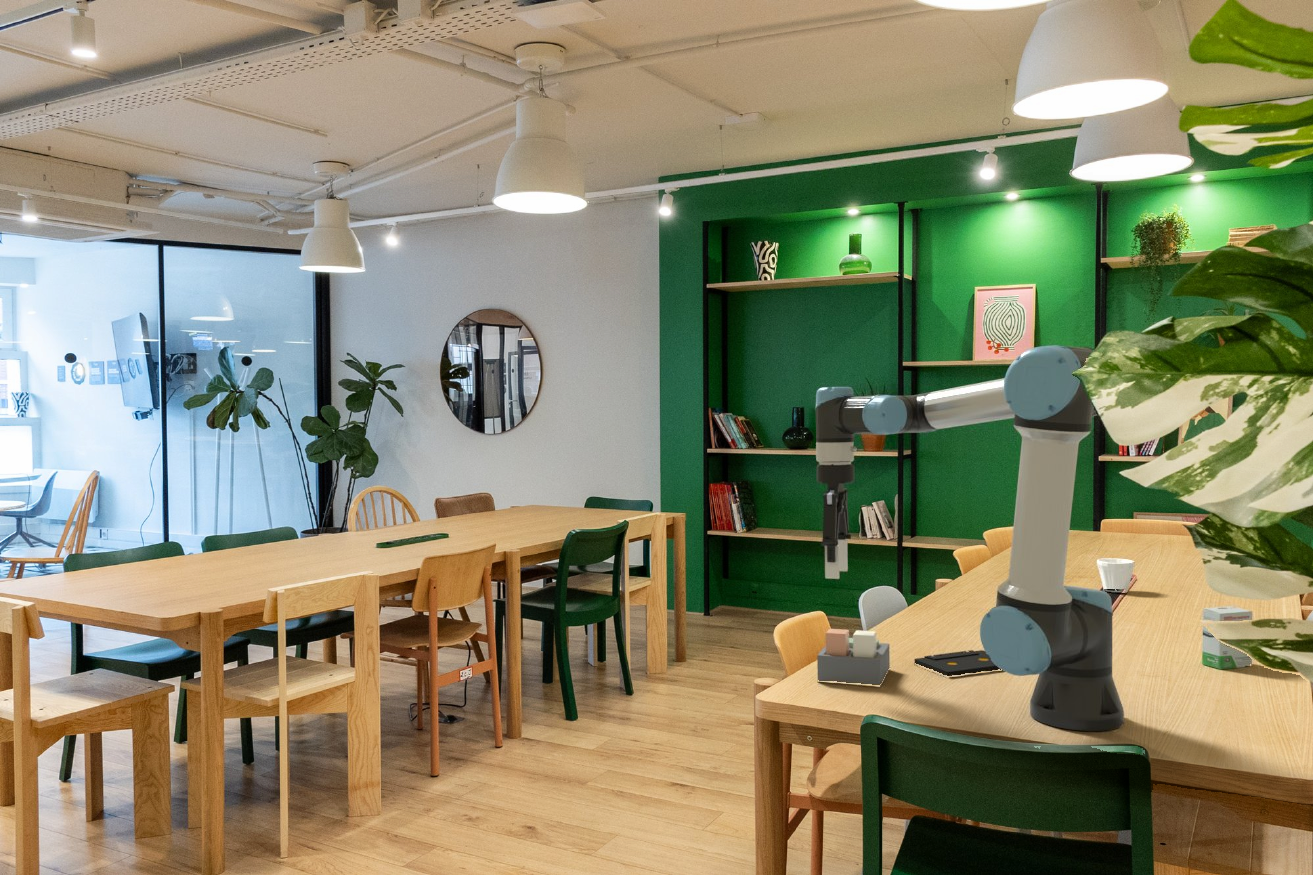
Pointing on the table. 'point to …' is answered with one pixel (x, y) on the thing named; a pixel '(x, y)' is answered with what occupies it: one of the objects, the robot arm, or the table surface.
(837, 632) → the pink block
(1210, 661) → the ink box
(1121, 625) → the table surface
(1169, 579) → the table surface
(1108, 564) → the cup
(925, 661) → the black flat panel
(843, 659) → the grey open box
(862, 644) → the cream block
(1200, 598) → the table surface
